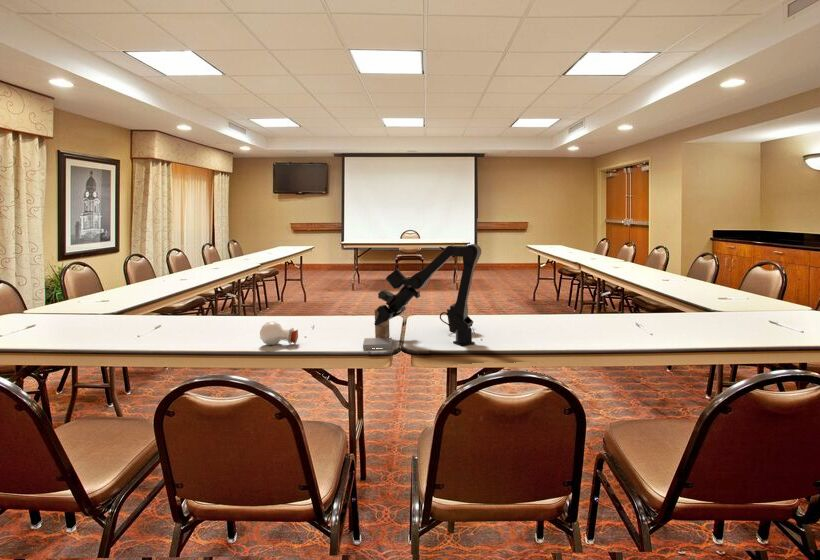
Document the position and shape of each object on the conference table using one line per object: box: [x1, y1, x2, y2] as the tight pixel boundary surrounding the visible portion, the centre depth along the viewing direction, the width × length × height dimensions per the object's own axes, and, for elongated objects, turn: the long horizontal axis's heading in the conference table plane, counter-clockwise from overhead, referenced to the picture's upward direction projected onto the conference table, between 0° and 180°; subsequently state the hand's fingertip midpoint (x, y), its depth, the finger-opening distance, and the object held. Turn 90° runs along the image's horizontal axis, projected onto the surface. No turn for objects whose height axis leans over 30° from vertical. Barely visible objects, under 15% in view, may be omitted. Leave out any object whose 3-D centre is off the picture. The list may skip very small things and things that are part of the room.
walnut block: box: [374, 308, 391, 338], centre depth 221 cm, size 4×4×12 cm
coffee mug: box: [439, 307, 456, 333], centre depth 232 cm, size 12×9×10 cm
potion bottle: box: [259, 321, 299, 346], centre depth 214 cm, size 9×10×15 cm
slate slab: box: [362, 337, 393, 350], centre depth 208 cm, size 11×11×2 cm
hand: (379, 322), depth 221 cm, fingers open, 8 cm apart
